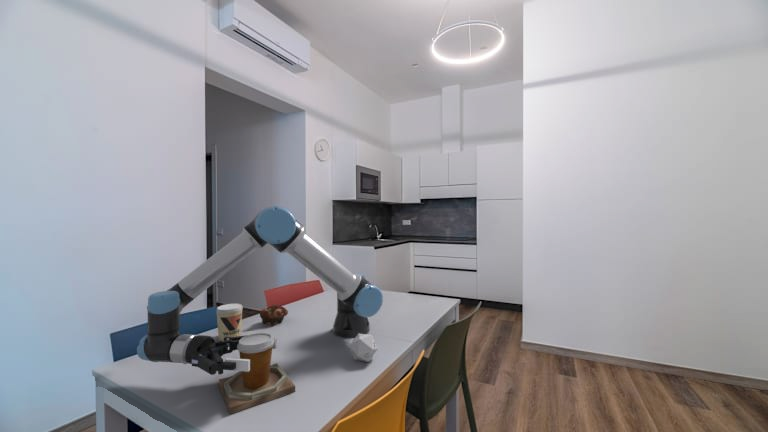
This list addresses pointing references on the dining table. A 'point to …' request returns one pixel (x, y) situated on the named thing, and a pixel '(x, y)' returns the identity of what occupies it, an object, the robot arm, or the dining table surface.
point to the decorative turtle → (273, 314)
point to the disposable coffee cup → (256, 358)
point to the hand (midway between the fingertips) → (263, 353)
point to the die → (363, 347)
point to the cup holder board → (254, 389)
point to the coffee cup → (229, 320)
